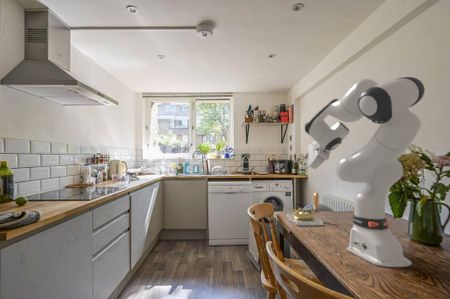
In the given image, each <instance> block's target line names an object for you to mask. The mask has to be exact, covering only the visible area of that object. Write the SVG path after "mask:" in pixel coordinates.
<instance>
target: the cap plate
mask: <svg viewBox="0 0 450 299" xmlns="http://www.w3.org/2000/svg"><path fill="white" fill-rule="evenodd" d="M285 215H286V216H285V217H286V218H287V219H288V221H289V220H290V222H291V223H292V224H294V225H295V226H297V227H308V226H309V227H310V226H311V227H312V226H315V227H317V226H318V227H321V226H324V221H322V220H321V219H319V218H318V217H317V216H314V219H311V220H303V219H297V218H294V217H293V213H285Z"/></svg>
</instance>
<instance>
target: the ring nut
mask: <svg viewBox="0 0 450 299" xmlns="http://www.w3.org/2000/svg"><path fill="white" fill-rule="evenodd" d="M313 195H314V196H313V200H314V202H313V204H314V205H313V206H314V207H313V208H314V209H311V208H307V209H303V208H302V207H298V209H296V208H293V209H292V214H293V217H294V218H297V219H303V220H311V219H314V217H315V213H319V212H320V210H319V209H320V208H319V206H320V205H319V203H320V202H319V200H320V199H319V198H320V197H319V196H320V195H319V193H318V192H314V193H313Z"/></svg>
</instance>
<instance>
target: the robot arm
mask: <svg viewBox="0 0 450 299" xmlns="http://www.w3.org/2000/svg"><path fill="white" fill-rule="evenodd" d="M424 95H425V86H424V83H423V82H422V81H421V80H420V79H419V78H416V77H414V76H404V77H403V76H402V77H398V78H395V79H392V80H387V81H385V82H383V83H379V84H378V83H377V81H374V80H372V79H371V78H370V79H368V78H363V79H359V80H358V81H356V82H355V83H354V84H353V85H352V86H351V87H350V88H349V89H348V90H347V91H346V93H345V94H344V95H343V96H342V98H339V99H338V98H335V99H332V100H331V101H328V102H327V103H325V105H324V106H323V107H322V108H321V109H320V110H318V112H317V113H316V114H314V115H313V116H312V117H311V118H309V120H307V121H306V123H305V124H304V132H305V133H306V134H308V136H310V137H311V138H312V139H313V142H311V143H310V144H309V145H308V146H307V151H306V153H305V155H304V156H303V159H304V160H307V159H308V163H307V164H305V165H304V166H303V167H304V169H305V170H308V169H309V168H311V169H313V170H316V169H318V168H319V167H321V165H323V164H324V163H325V161H327V160H329V159H330V155H331V151H334V150H335V149H337V148H338V147H339V146H340V145H341V144H342V142H343V140H344V139H345V138H346V137H347V136H348V135H349V134H350V133H351V132H350V129H349V128H348V127H347V125H345V124H344V122H345V123H354V122H355V123H356V122H358V121H360V120H361V119H362V118H363V117H365V118H366V119H368V120H371V121H372V123H374V124H379V127H378V128H377V130H376V131H375V133H373V135H372V137H371V138H370V140H369V141H368V142H367V144H366V145H364V146H363V147H361V148H360V149H359V150H358V151H356V152H354V153H352V154H350V155H348V156H345V157H343V158H340V159H339V160H338V162H337V163H336V167H335V171H336V172H335V173H336V175H337V177H338V178H339V179H340V181H343V182H348V183H351V184H352V183H353V184H354V183H355V184H360V183H361V184H365V183H366V184H365V187H364V188H363V190H360V191H359V192H357V193H356V194H355V196H354V198H353V214H352V223H353V225H352V228H351V229H350V233H349V234H350V235H349V244H348V246H347V247H346V251H348V252H350V253H352V254H353V255H355V256H357V257H359V258H361V259H363V260H365V261H368V262H369V263H371V264H373V265H375V266H379V267H385V268H405V267H410V266H412V264H413V263H412V260H410V259H408V258H407V257H405V256H404V252H403V247H402V244H401V242H400V240H397V238H396V237H395V236H394V235H393V233H392V232H391V231H390V229H389V228H390V227H389V226H391V225H390V222H388V221H387V218H386V215H385V214H386V210H385V209H386V198H387V195H388V193H389V191H390V189H391V188H392V186H393V185H394V184H395V183H396V182H398V181H399V180H400V179H402V177H403V173H404V167H403V165H402V163H401V162H400V161H399V158H400V157H401V155H402V154H403V153H404V152H405V151H406V149H407V148H408V147H409V146H410V145H411V144H412V142H413V141H414V140H415V138H416V136H417V135H418V133H419V130H420V129H421V124H422V122H421V120H420V117H419V116H418V115H416V114H415V113H413V112H411V111H410V109H409V108H412V107H413V106H416V104H418V103H419V102H420V101H421V100H422V99H423V97H424ZM328 116H331V117H333V118H335V119H336V120H339V121H338V122H336V123H335V124H333V125H332V126H330V125H329V124H328V123H327V122H326V121H325V118H327V117H328ZM342 122H343V123H342Z"/></svg>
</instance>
